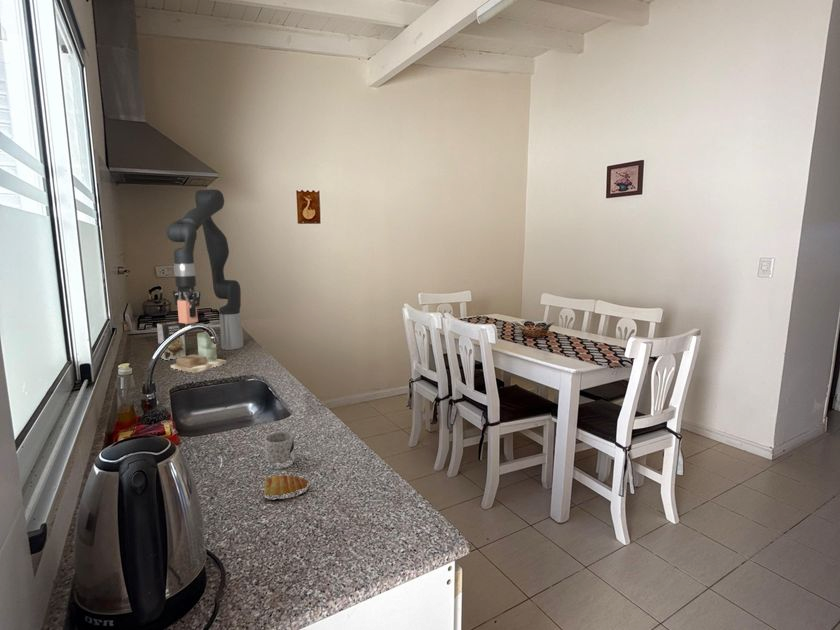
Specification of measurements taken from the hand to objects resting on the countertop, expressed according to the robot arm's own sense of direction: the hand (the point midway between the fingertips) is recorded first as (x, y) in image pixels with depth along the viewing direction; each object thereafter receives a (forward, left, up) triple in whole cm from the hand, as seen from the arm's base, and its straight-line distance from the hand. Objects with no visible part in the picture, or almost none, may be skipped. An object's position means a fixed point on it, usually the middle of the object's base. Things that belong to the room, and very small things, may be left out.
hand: (188, 316), depth 195 cm
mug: (+47, +90, -22) cm, 104 cm away
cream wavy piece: (-3, 0, -22) cm, 22 cm away
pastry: (+58, +102, -22) cm, 119 cm away
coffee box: (-7, -22, -22) cm, 32 cm away
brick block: (0, 0, -2) cm, 2 cm away
